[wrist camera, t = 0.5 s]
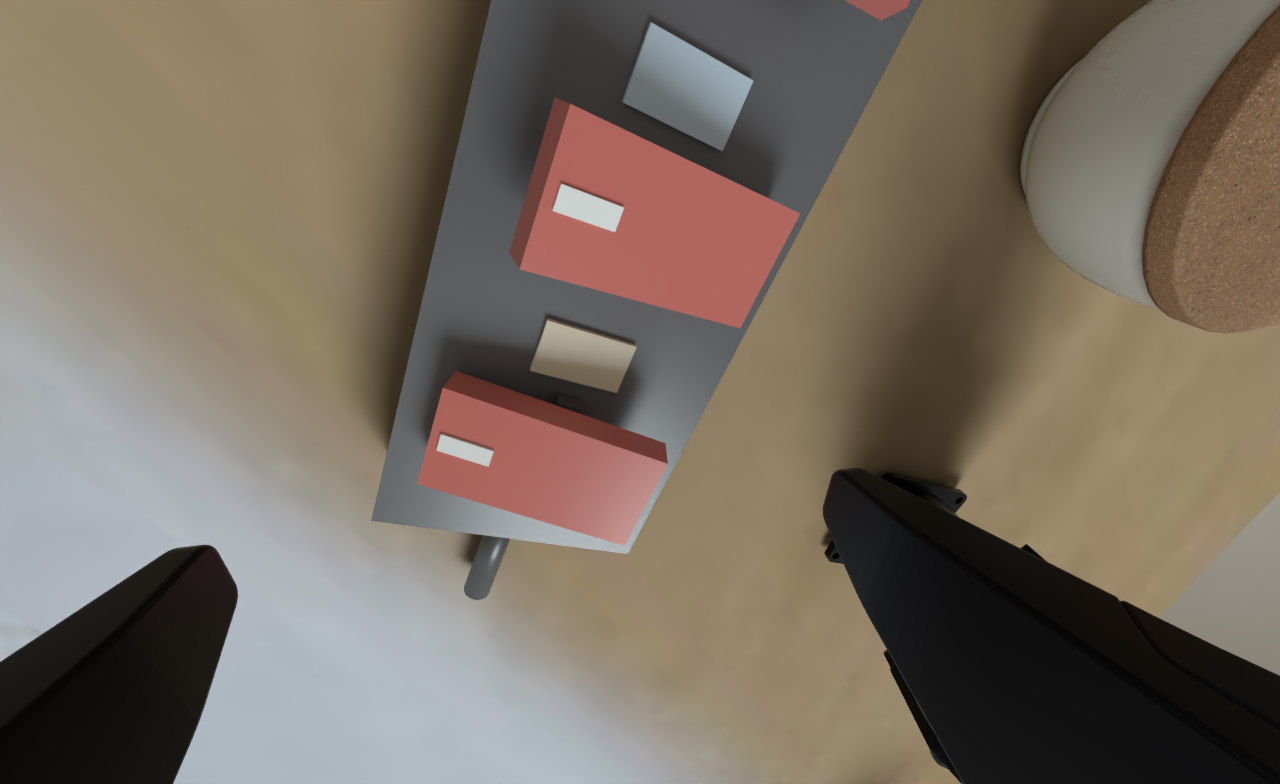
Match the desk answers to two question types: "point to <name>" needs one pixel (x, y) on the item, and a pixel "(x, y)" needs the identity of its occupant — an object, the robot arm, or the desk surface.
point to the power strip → (591, 319)
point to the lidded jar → (1169, 163)
